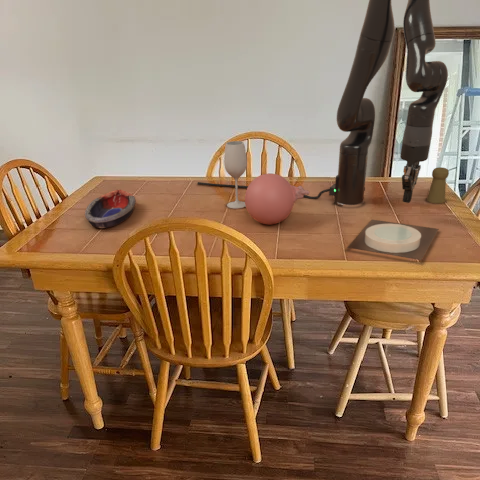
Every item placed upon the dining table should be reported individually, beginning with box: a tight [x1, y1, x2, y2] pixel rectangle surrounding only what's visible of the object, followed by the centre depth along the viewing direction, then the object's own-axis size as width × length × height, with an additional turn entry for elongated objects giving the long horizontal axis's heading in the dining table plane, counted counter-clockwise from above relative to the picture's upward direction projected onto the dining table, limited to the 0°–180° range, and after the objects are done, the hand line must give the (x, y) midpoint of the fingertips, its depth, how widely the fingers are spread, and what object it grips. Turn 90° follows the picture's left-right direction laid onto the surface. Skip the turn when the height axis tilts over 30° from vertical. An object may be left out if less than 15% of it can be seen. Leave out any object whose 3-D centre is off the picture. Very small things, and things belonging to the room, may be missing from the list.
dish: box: [84, 189, 136, 229], centre depth 168 cm, size 16×31×5 cm, turn 177°
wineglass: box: [223, 140, 248, 210], centre depth 169 cm, size 8×8×21 cm
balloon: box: [244, 173, 311, 225], centre depth 154 cm, size 15×20×15 cm
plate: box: [364, 224, 421, 253], centre depth 139 cm, size 15×15×3 cm
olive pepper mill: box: [426, 167, 450, 204], centre depth 168 cm, size 6×6×11 cm
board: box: [347, 219, 439, 261], centre depth 142 cm, size 20×24×1 cm
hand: (406, 201), depth 149 cm, fingers closed
